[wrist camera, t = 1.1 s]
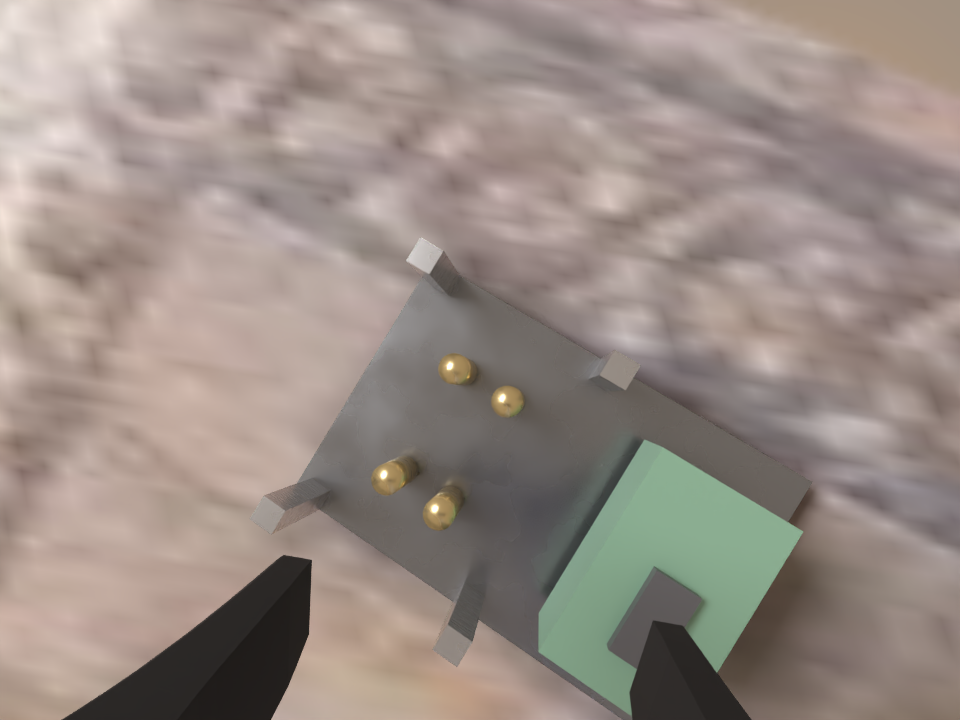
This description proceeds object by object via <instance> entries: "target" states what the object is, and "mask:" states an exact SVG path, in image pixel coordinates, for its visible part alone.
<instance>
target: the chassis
mask: <svg viewBox="0 0 960 720" xmlns="http://www.w3.org/2000/svg"><path fill="white" fill-rule="evenodd" d="M406 261H407V262H408V263H409V264H410V265H411V266H412V267H413V268H414V269H415V270H416V271H417V272H418V273H419V274H420V275H421V276H422V278H421V280H420V281H419V283H418V285H417V286H416V288H415V290H414V291H413V293H412V295H411V296H410V298H409V300H408V301H407V303H406V305H405V306H404V308H403V310H402V311H401V313H400V314H399V316H398V318H397V319H396V321H395V323H394V324H393V326H392V328H391V329H390V331H389V333H388V334H387V336H386V338H385V339H384V341H383V342H382V344H381V346H380V347H379V349H378V351H377V352H376V354H375V356H374V357H373V359H372V361H371V362H370V364H369V366H368V367H367V369H366V370H365V372H364V374H363V375H362V377H361V379H360V380H359V382H358V384H357V385H356V387H355V389H354V390H353V392H352V394H351V395H350V397H349V399H348V400H347V402H346V403H345V405H344V407H343V408H342V410H341V412H340V413H339V415H338V417H337V418H336V420H335V422H334V423H333V425H332V427H331V428H330V430H329V431H328V433H327V435H326V436H325V438H324V440H323V441H322V443H321V445H320V446H319V448H318V450H317V451H316V453H315V455H314V456H313V458H312V459H311V461H310V463H309V464H308V466H307V468H306V469H305V471H304V473H303V474H302V476H301V478H300V479H299V481H298V483H297V484H294V485H292V486H289V487H286V488H283V489H281V490H278V491H275V492H272V493H270V494H267V495H264V496H263V498H262V499H261V501H260V503H259V504H258V506H257V508H256V509H255V511H254V513H253V514H252V516H251V518H250V520H252V521H253V522H254V523H256V524H257V525H259V526H260V527H261V528H263V529H264V530H266V531H267V532H268V533H270V534H273V533H275V532H277V531H279V530H281V529H283V528H285V527H287V526H289V525H291V524H292V523H294V522H296V521H298V520H300V519H302V518H304V517H306V516H308V515H310V514H312V513H314V512H315V511H317V510H319V509H320V510H321V511H323V512H324V513H326V514H327V515H329V516H330V517H331V518H333V519H334V520H336V521H337V522H339V523H340V524H342V525H343V526H344V527H346V528H347V529H349V530H350V531H352V532H353V533H354V534H356V535H357V536H359V537H360V538H362V539H363V540H365V541H366V542H367V543H369V544H370V545H372V546H373V547H375V548H376V549H378V550H379V551H380V552H382V553H383V554H385V555H386V556H388V557H389V558H391V559H392V560H393V561H395V562H396V563H398V564H399V565H401V566H402V567H404V568H405V569H406V570H408V571H409V572H411V573H412V574H414V575H415V576H417V577H418V578H419V579H421V580H422V581H424V582H425V583H427V584H428V585H430V586H431V587H432V588H434V589H435V590H437V591H438V592H440V593H441V594H442V595H444V596H445V597H447V598H448V599H450V600H451V601H453V602H452V605H451V607H450V609H449V612H448V614H447V616H446V619H445V621H444V624H443V626H442V628H441V631H440V633H439V635H438V638H437V640H436V643H435V645H434V647H433V650H434V651H435V652H436V653H438V654H439V655H441V656H442V657H443V658H445V659H446V660H448V661H449V662H450V663H452V664H453V665H455V666H456V667H457V666H458V665H459V663H460V661H461V660H462V658H463V657H464V655H465V653H466V652H467V650H468V648H469V647H470V645H471V643H472V641H473V638H474V634H475V630H476V627H477V623H478V619H479V620H480V621H481V622H483V623H484V624H486V625H487V626H489V627H490V628H492V629H493V630H494V631H496V632H497V633H499V634H500V635H502V636H503V637H505V638H506V639H507V640H509V641H510V642H512V643H513V644H515V645H516V646H518V647H519V648H520V649H522V650H523V651H525V652H526V653H528V654H529V655H530V656H532V657H533V658H535V659H536V660H538V661H539V662H541V663H542V664H543V665H545V666H546V667H548V668H549V669H551V670H552V671H554V672H555V673H556V674H558V675H559V676H561V677H562V678H564V679H565V680H567V681H568V682H569V683H571V684H572V685H574V686H575V687H577V688H578V689H580V690H581V691H582V692H584V693H585V694H587V695H588V696H590V697H591V698H593V699H594V700H595V701H597V702H598V703H600V704H601V705H603V706H604V707H606V708H607V709H608V710H610V711H611V712H613V713H614V714H616V715H617V716H618V717H620V718H621V719H623V720H632V716H630V715H629V714H627V713H626V712H625V711H623V710H622V709H620V708H619V707H617V706H616V705H614V704H613V703H612V702H610V701H609V700H607V699H606V698H604V697H603V696H601V695H600V694H599V693H597V692H596V691H594V690H593V689H591V688H590V687H588V686H587V685H585V684H584V683H583V682H581V681H580V680H578V679H577V678H575V677H574V676H572V675H571V674H570V673H568V672H567V671H565V670H564V669H562V668H561V667H559V666H558V665H557V664H555V663H554V662H552V661H551V660H549V659H548V658H546V657H545V656H543V655H542V654H541V653H539V652H538V640H539V612H540V610H541V608H542V607H543V605H544V604H545V602H546V600H547V599H548V597H549V595H550V594H551V592H552V590H553V589H554V587H555V585H556V584H557V582H558V581H559V579H560V577H561V576H562V574H563V572H564V571H565V569H566V567H567V566H568V564H569V562H570V561H571V559H572V558H573V556H574V554H575V553H576V551H577V549H578V548H579V546H580V544H581V543H582V541H583V540H584V538H585V536H586V535H587V533H588V531H589V530H590V528H591V526H592V525H593V523H594V521H595V520H596V518H597V517H598V515H599V513H600V512H601V510H602V508H603V507H604V505H605V503H606V502H607V500H608V498H609V497H610V495H611V494H612V492H613V490H614V489H615V487H616V485H617V484H618V482H619V480H620V479H621V477H622V476H623V474H624V472H625V471H626V469H627V467H628V466H629V464H630V462H631V461H632V459H633V457H634V456H635V454H636V453H637V451H638V449H639V448H640V446H641V444H642V443H643V441H644V439H645V440H647V441H649V442H652V443H654V444H656V445H659V446H661V447H663V448H665V449H667V450H668V451H670V452H672V453H673V454H675V455H677V456H678V457H680V458H682V459H683V460H685V461H687V462H688V463H690V464H692V465H693V466H695V467H697V468H698V469H700V470H702V471H703V472H705V473H707V474H708V475H710V476H712V477H713V478H715V479H717V480H718V481H720V482H722V483H723V484H725V485H727V486H728V487H730V488H732V489H733V490H735V491H737V492H738V493H740V494H741V495H743V496H745V497H746V498H748V499H750V500H751V501H753V502H755V503H756V504H758V505H760V506H761V507H763V508H765V509H766V510H768V511H770V512H771V513H773V514H775V515H776V516H778V517H780V518H781V519H783V520H785V521H786V522H788V521H789V520H790V518H791V517H792V515H793V513H794V512H795V510H796V508H797V507H798V505H799V503H800V502H801V500H802V499H803V497H804V495H805V494H806V492H807V490H808V489H809V487H810V485H811V484H812V482H811V481H809V480H808V479H806V478H804V477H803V476H801V475H799V474H798V473H796V472H794V471H792V470H791V469H789V468H787V467H786V466H784V465H782V464H780V463H779V462H777V461H775V460H774V459H772V458H770V457H768V456H767V455H765V454H763V453H762V452H760V451H758V450H756V449H755V448H753V447H751V446H750V445H748V444H746V443H745V442H743V441H741V440H739V439H738V438H736V437H734V436H733V435H731V434H729V433H727V432H726V431H724V430H722V429H721V428H719V427H717V426H715V425H714V424H712V423H710V422H709V421H707V420H705V419H703V418H702V417H700V416H698V415H697V414H695V413H693V412H691V411H690V410H688V409H686V408H685V407H683V406H681V405H680V404H678V403H676V402H674V401H673V400H671V399H669V398H668V397H666V396H664V395H662V394H661V393H659V392H657V391H656V390H654V389H652V388H650V387H649V386H647V385H645V384H644V383H642V382H640V381H638V380H637V379H635V378H633V377H634V376H635V374H636V372H637V371H638V369H639V368H640V366H641V365H640V364H638V363H636V362H635V361H633V360H631V359H629V358H628V357H626V356H624V355H623V354H621V353H619V352H617V351H616V350H614V351H612V352H611V353H609V354H607V355H606V356H604V357H602V358H599V357H597V356H596V355H594V354H592V353H591V352H589V351H587V350H585V349H584V348H582V347H580V346H579V345H577V344H575V343H573V342H572V341H570V340H568V339H567V338H565V337H563V336H562V335H560V334H558V333H556V332H555V331H553V330H551V329H550V328H548V327H546V326H544V325H543V324H541V323H539V322H538V321H536V320H534V319H532V318H531V317H529V316H527V315H526V314H524V313H522V312H520V311H519V310H517V309H515V308H514V307H512V306H510V305H509V304H507V303H505V302H503V301H502V300H500V299H498V298H497V297H495V296H493V295H491V294H490V293H488V292H486V291H485V290H483V289H481V288H479V287H478V286H476V285H474V284H473V283H471V282H469V281H467V280H466V279H464V278H462V277H461V276H460V275H459V273H458V272H457V270H456V269H455V267H454V266H453V264H452V263H451V261H450V260H449V258H448V257H447V255H446V254H445V252H444V251H443V250H441V249H440V248H438V247H436V246H434V245H433V244H431V243H429V242H428V241H426V240H424V239H422V238H421V237H420V239H419V241H418V242H417V244H416V246H415V247H414V249H413V251H412V252H411V254H410V255H409V257H408V259H407V260H406Z"/></svg>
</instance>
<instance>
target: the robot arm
mask: <svg viewBox="0 0 960 720" xmlns="http://www.w3.org/2000/svg"><path fill="white" fill-rule="evenodd" d="M311 566H312V560H309V559H303V558H298V557H292V556H286V555H283V556H282V557H280V558H279V559H277V560H276V561H275V562H274V563H273V564H271V565H270V566H269V567H268V568H267V569H265V570H264V571H263V572H262V573H261V574H260V575H258V576H257V577H256V578H255V579H254V580H253V581H251V582H250V583H249V584H248V585H247V586H245V587H244V588H243V589H242V590H241V591H239V592H238V593H237V594H236V595H235V596H233V597H232V598H231V599H230V600H229V601H227V602H226V603H225V604H224V605H222V606H221V607H220V608H219V609H217V610H216V611H215V612H214V613H212V614H211V615H210V616H209V617H207V618H206V619H205V620H204V621H202V622H201V623H200V624H198V625H197V626H196V627H195V628H193V629H192V630H191V631H190V632H188V633H187V634H186V635H184V636H183V637H182V638H180V639H179V640H178V641H176V642H175V643H174V644H172V645H171V646H169V647H168V648H167V649H165V650H164V651H163V652H161V653H160V654H159V655H157V656H156V657H154V658H153V659H152V660H150V661H149V662H148V663H146V664H145V665H144V666H142V667H141V668H139V669H138V670H137V671H135V672H134V673H132V674H131V675H129V676H128V677H126V678H125V679H124V680H122V681H121V682H119V683H118V684H116V685H115V686H113V687H112V688H110V689H109V690H107V691H106V692H104V693H103V694H101V695H100V696H98V697H97V698H95V699H94V700H92V701H90V702H89V703H87V704H86V705H84V706H83V707H81V708H80V709H78V710H77V711H75V712H73V713H72V714H70V715H69V716H67V717H65V718H64V719H62V720H271V718H272V717H273V715H274V713H275V711H276V709H277V707H278V705H279V703H280V701H281V699H282V697H283V695H284V693H285V691H286V689H287V687H288V685H289V683H290V680H291V678H292V675H293V673H294V671H295V668H296V666H297V663H298V661H299V658H300V656H301V653H302V650H303V648H304V645H305V643H306V640H307V638H308V635H309V618H310V592H311ZM629 694H630V703H631V712H632V720H751V718H750V717H749V716H748V714H747V713H746V712H745V710H744V709H743V708H742V706H741V705H740V704H739V702H738V701H737V700H736V698H735V697H734V696H733V694H732V693H731V692H730V690H729V689H728V687H727V686H726V685H725V683H724V682H723V681H722V679H721V678H720V676H719V675H718V674H717V672H716V671H715V670H714V668H713V667H712V665H711V664H710V663H709V661H708V660H707V658H706V657H705V656H704V654H703V653H702V651H701V650H700V649H699V647H698V646H697V644H696V643H695V642H694V640H693V639H692V638H691V636H690V635H689V633H688V632H687V631H686V629H685V628H684V627H683V625H677V624H671V623H666V622H660V621H654V620H653V622H652V625H651V628H650V631H649V634H648V637H647V640H646V643H645V646H644V649H643V652H642V655H641V658H640V661H639V664H638V668H637V671H636V674H635V677H634V680H633V683H632V686H631V689H630V692H629Z"/></svg>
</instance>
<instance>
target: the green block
mask: <svg viewBox="0 0 960 720" xmlns="http://www.w3.org/2000/svg"><path fill="white" fill-rule="evenodd" d="M802 533H803V531H801V530H800V529H798V528H796V527H795V526H793V525H791V524H790V523H788V522H786V521H785V520H783V519H781V518H780V517H778V516H776V515H775V514H773V513H771V512H770V511H768V510H766V509H765V508H763V507H761V506H760V505H758V504H756V503H755V502H753V501H751V500H750V499H748V498H746V497H745V496H743V495H741V494H740V493H738V492H737V491H735V490H733V489H732V488H730V487H728V486H727V485H725V484H723V483H722V482H720V481H718V480H717V479H715V478H713V477H712V476H710V475H708V474H707V473H705V472H703V471H702V470H700V469H698V468H697V467H695V466H693V465H692V464H690V463H688V462H687V461H685V460H683V459H682V458H680V457H678V456H677V455H675V454H673V453H672V452H670V451H668V450H667V449H665V448H663V447H661V446H659V445H656V444H654V443H652V442H649V441H647V440H645V439H644V441H643V443H642V444H641V446H640V448H639V449H638V451H637V453H636V454H635V456H634V457H633V459H632V461H631V462H630V464H629V466H628V467H627V469H626V471H625V472H624V474H623V476H622V477H621V479H620V480H619V482H618V484H617V485H616V487H615V489H614V490H613V492H612V494H611V495H610V497H609V498H608V500H607V502H606V503H605V505H604V507H603V508H602V510H601V512H600V513H599V515H598V517H597V518H596V520H595V521H594V523H593V525H592V526H591V528H590V530H589V531H588V533H587V535H586V536H585V538H584V540H583V541H582V543H581V544H580V546H579V548H578V549H577V551H576V553H575V554H574V556H573V558H572V559H571V561H570V562H569V564H568V566H567V567H566V569H565V571H564V572H563V574H562V576H561V577H560V579H559V581H558V582H557V584H556V585H555V587H554V589H553V590H552V592H551V594H550V595H549V597H548V599H547V600H546V602H545V604H544V605H543V607H542V608H541V610H540V612H539V640H538V652H539V653H541V654H542V655H543V656H545V657H546V658H548V659H549V660H551V661H552V662H554V663H555V664H557V665H558V666H559V667H561V668H562V669H564V670H565V671H567V672H568V673H570V674H571V675H572V676H574V677H575V678H577V679H578V680H580V681H581V682H583V683H584V684H585V685H587V686H588V687H590V688H591V689H593V690H594V691H596V692H597V693H599V694H600V695H601V696H603V697H604V698H606V699H607V700H609V701H610V702H612V703H613V704H614V705H616V706H617V707H619V708H620V709H622V710H623V711H625V712H626V713H627V714H629V715H630V716H632V712H631V703H630V694H629V692H630V689H631V686H632V683H633V680H634V677H635V674H636V671H637V668H638V664H639V661H640V658H641V655H642V652H643V649H644V646H645V643H646V640H647V637H648V634H649V631H650V628H651V625H652V622H653V620H654V621H660V622H666V623H671V624H677V625H683V627H684V628H685V629H686V631H687V632H688V633H689V635H690V636H691V638H692V639H693V640H694V642H695V643H696V644H697V646H698V647H699V649H700V650H701V651H702V653H703V654H704V656H705V657H706V658H707V660H708V661H709V663H710V664H711V665H712V667H713V668H714V670H715V671H716V672H718V671H719V669H720V667H721V666H722V664H723V663H724V661H725V659H726V658H727V656H728V654H729V653H730V651H731V649H732V648H733V646H734V645H735V643H736V641H737V640H738V638H739V636H740V635H741V633H742V631H743V630H744V628H745V627H746V625H747V623H748V622H749V620H750V618H751V617H752V615H753V613H754V612H755V610H756V609H757V607H758V605H759V604H760V602H761V600H762V599H763V597H764V595H765V594H766V592H767V591H768V589H769V587H770V586H771V584H772V582H773V581H774V579H775V577H776V576H777V574H778V573H779V571H780V569H781V568H782V566H783V564H784V563H785V561H786V559H787V558H788V556H789V555H790V553H791V551H792V550H793V548H794V546H795V545H796V543H797V541H798V540H799V538H800V537H801V535H802Z"/></svg>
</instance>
